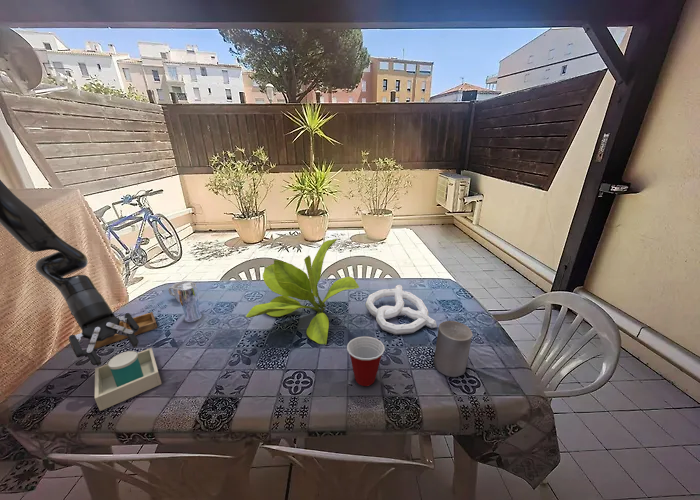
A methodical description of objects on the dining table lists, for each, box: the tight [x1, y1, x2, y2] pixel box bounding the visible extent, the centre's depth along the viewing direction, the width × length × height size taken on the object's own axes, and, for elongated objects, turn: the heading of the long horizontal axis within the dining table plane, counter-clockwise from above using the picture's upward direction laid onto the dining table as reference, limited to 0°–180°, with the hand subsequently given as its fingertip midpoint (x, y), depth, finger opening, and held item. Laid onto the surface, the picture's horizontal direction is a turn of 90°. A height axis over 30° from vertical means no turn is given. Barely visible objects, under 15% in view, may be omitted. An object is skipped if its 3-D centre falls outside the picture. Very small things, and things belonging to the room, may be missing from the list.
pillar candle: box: [433, 320, 474, 378], centre depth 84 cm, size 10×10×15 cm
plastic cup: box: [346, 336, 386, 387], centre depth 79 cm, size 11×11×12 cm
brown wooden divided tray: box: [93, 311, 158, 350], centre depth 101 cm, size 18×9×3 cm, turn 131°
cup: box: [167, 280, 192, 303], centre depth 123 cm, size 11×8×8 cm
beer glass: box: [177, 281, 203, 323], centre depth 108 cm, size 7×7×15 cm
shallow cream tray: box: [94, 347, 162, 412], centre depth 79 cm, size 14×14×5 cm
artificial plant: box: [245, 238, 360, 345], centre depth 106 cm, size 42×43×30 cm
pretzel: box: [365, 284, 438, 335], centre depth 112 cm, size 28×24×6 cm
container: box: [107, 350, 144, 387], centre depth 78 cm, size 6×6×8 cm
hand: (118, 355), depth 77 cm, fingers open, 8 cm apart
